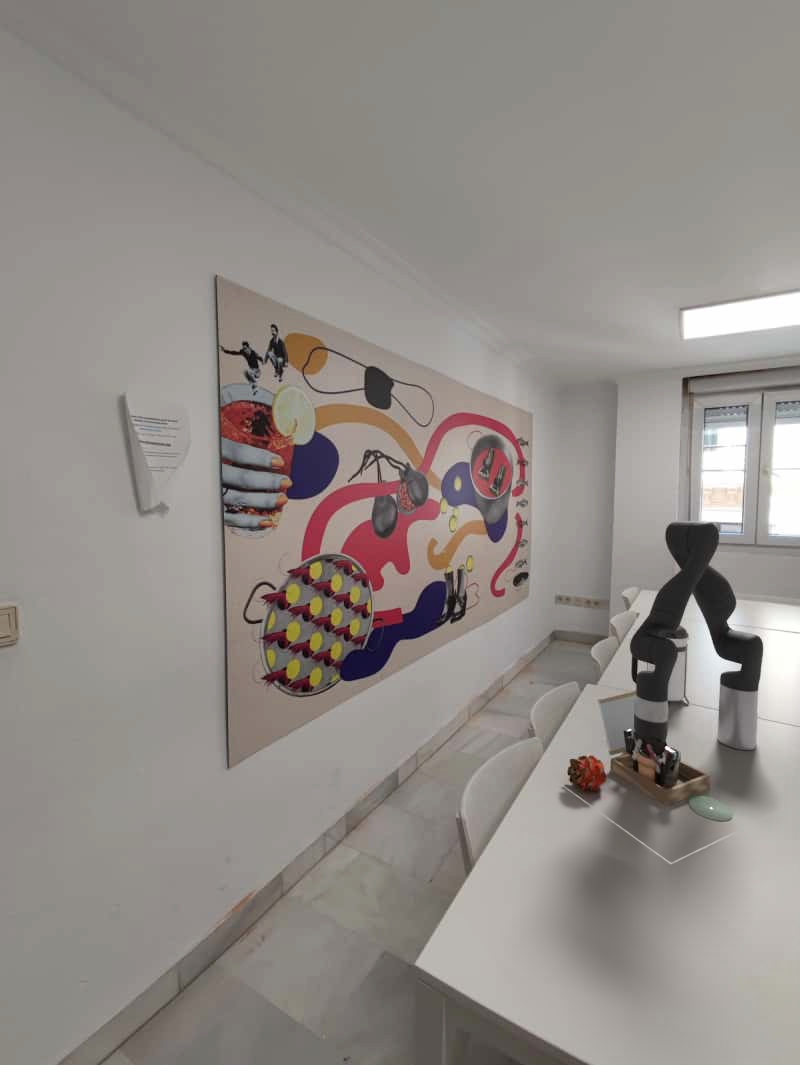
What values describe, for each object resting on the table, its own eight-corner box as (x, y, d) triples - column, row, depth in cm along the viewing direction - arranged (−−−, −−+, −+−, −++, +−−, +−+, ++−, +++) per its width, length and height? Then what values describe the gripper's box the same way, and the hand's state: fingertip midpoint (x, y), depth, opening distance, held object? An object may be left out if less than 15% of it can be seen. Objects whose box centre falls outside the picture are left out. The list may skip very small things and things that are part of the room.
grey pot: (665, 768, 127) (666, 743, 127) (684, 778, 123) (685, 752, 122) (652, 772, 125) (653, 747, 125) (671, 783, 120) (672, 757, 120)
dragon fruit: (570, 802, 115) (593, 789, 124) (600, 794, 111) (622, 781, 119) (554, 765, 119) (577, 755, 128) (582, 755, 115) (604, 746, 123)
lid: (650, 742, 132) (648, 742, 133) (638, 690, 135) (636, 690, 136) (611, 755, 126) (609, 754, 126) (600, 699, 129) (597, 699, 130)
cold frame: (630, 747, 139) (632, 705, 138) (709, 789, 118) (711, 741, 118) (590, 759, 132) (591, 716, 131) (667, 806, 111) (669, 755, 111)
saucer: (703, 795, 116) (703, 792, 116) (740, 815, 108) (740, 812, 108) (680, 804, 112) (681, 801, 112) (717, 826, 105) (717, 823, 105)
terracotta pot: (645, 774, 124) (646, 746, 124) (666, 786, 119) (667, 757, 119) (630, 779, 122) (631, 751, 121) (651, 792, 117) (652, 762, 116)
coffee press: (648, 687, 184) (651, 610, 182) (695, 699, 172) (698, 617, 170) (629, 699, 172) (632, 617, 170) (678, 714, 161) (682, 626, 159)
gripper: (688, 723, 115) (685, 791, 116) (636, 700, 127) (633, 762, 128) (667, 729, 111) (665, 799, 112) (616, 706, 124) (614, 769, 125)
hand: (648, 779), depth 120 cm, fingers closed on terracotta pot, 5 cm apart
